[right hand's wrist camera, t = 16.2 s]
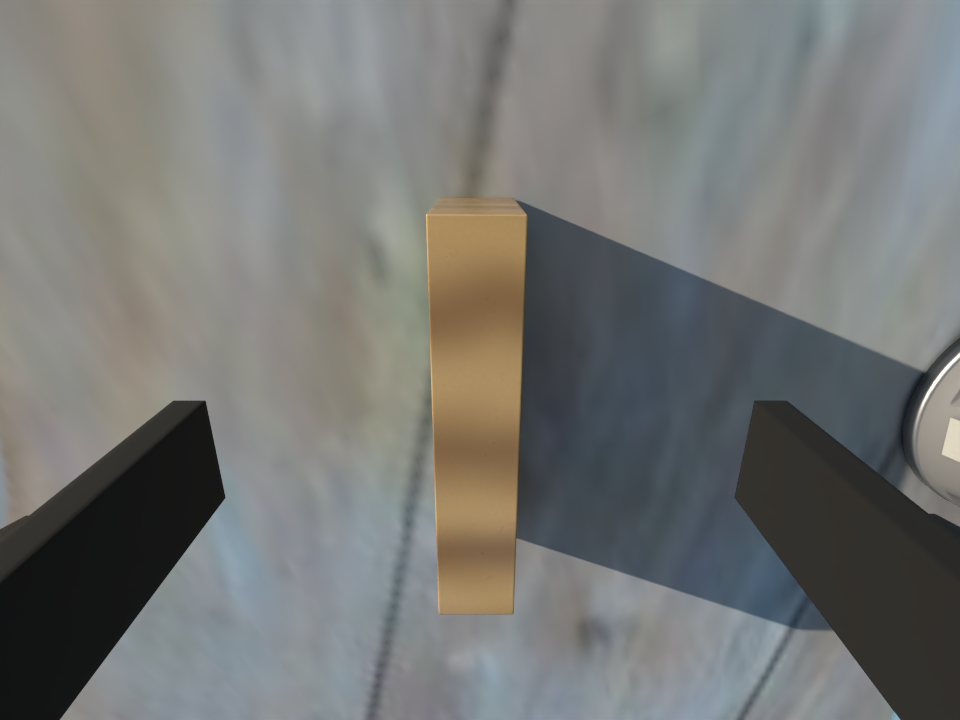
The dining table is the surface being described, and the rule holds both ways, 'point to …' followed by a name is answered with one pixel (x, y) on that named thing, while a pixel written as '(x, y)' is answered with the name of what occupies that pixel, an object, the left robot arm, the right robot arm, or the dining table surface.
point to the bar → (476, 396)
